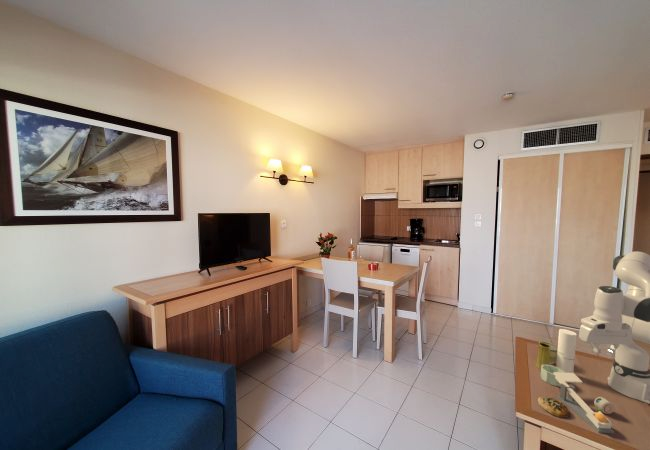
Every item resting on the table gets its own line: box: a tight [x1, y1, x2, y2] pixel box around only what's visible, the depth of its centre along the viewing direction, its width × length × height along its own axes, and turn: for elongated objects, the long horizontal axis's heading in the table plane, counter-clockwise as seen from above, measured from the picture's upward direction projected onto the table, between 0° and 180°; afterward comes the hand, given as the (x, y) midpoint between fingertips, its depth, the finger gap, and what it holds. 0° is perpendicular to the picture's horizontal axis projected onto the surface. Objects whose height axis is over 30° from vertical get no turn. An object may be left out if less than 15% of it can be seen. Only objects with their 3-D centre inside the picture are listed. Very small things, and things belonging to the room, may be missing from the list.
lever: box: [553, 372, 614, 429], centre depth 118 cm, size 26×13×3 cm, turn 178°
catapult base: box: [555, 383, 614, 434], centre depth 115 cm, size 20×6×8 cm, turn 179°
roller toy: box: [593, 396, 615, 415], centre depth 117 cm, size 4×6×6 cm
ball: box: [595, 413, 608, 423], centre depth 107 cm, size 4×4×4 cm
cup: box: [540, 364, 565, 388], centre depth 137 cm, size 10×10×6 cm
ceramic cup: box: [538, 340, 558, 365], centre depth 156 cm, size 13×10×10 cm
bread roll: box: [537, 396, 570, 418], centre depth 118 cm, size 11×11×5 cm
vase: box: [535, 342, 551, 371], centre depth 148 cm, size 6×6×14 cm
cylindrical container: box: [555, 328, 577, 373], centre depth 142 cm, size 7×7×25 cm
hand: (604, 352), depth 114 cm, fingers open, 5 cm apart
